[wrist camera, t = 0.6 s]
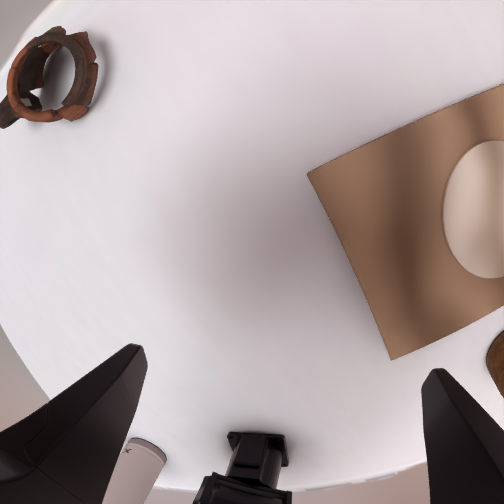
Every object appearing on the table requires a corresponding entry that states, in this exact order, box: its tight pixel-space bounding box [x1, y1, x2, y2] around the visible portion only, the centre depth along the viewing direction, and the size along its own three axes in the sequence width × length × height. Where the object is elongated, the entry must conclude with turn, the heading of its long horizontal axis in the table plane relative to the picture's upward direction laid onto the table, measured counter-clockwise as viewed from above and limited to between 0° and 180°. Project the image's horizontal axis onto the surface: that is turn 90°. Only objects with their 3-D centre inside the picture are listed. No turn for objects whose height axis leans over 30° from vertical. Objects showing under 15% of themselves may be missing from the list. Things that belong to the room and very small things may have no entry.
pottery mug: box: [0, 26, 98, 129], centre depth 20 cm, size 12×10×8 cm
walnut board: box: [307, 84, 504, 360], centre depth 17 cm, size 24×16×2 cm, turn 120°
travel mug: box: [102, 438, 166, 504], centre depth 28 cm, size 6×7×20 cm
